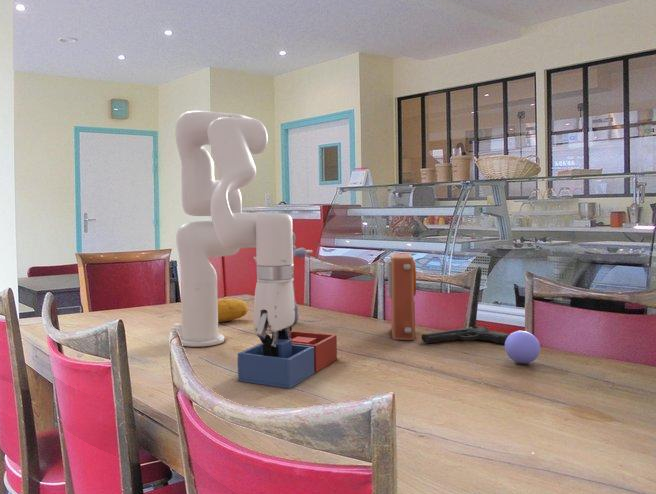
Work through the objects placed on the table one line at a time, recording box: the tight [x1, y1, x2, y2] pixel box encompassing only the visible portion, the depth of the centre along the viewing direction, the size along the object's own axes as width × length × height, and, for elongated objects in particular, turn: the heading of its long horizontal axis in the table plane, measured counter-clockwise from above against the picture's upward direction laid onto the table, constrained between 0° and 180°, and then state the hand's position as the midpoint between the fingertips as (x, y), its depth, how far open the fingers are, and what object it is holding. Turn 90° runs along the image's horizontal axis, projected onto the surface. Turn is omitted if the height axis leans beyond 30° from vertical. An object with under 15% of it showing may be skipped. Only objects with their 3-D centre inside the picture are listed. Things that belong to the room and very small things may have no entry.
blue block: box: [262, 337, 292, 358], centre depth 118 cm, size 5×5×5 cm
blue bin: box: [237, 343, 315, 389], centre depth 118 cm, size 12×12×6 cm
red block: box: [291, 337, 316, 345], centre depth 129 cm, size 5×5×5 cm
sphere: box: [504, 330, 541, 365], centre depth 125 cm, size 7×7×7 cm
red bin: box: [291, 330, 338, 373], centre depth 129 cm, size 12×12×6 cm
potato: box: [218, 298, 249, 323], centre depth 179 cm, size 8×14×7 cm, turn 108°
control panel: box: [387, 253, 417, 341], centre depth 155 cm, size 21×7×15 cm
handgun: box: [421, 325, 511, 345], centre depth 145 cm, size 3×20×12 cm
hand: (277, 361), depth 118 cm, fingers closed on blue block, 4 cm apart
